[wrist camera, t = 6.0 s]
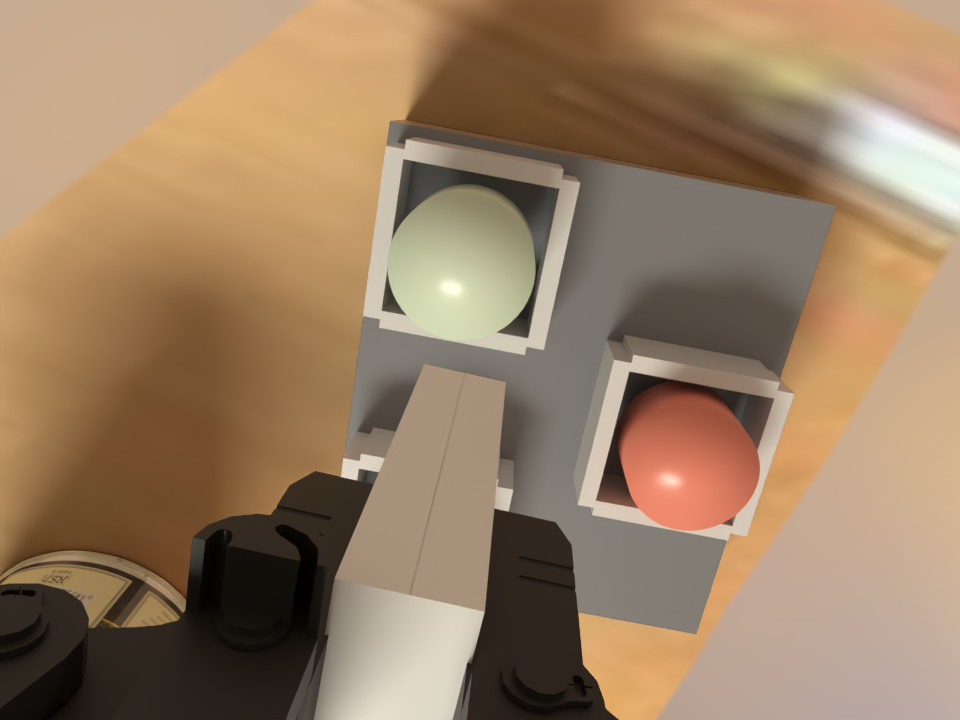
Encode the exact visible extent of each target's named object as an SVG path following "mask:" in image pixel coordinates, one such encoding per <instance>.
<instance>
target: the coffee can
mask: <svg viewBox="0 0 960 720" xmlns="http://www.w3.org/2000/svg"><path fill="white" fill-rule="evenodd" d="M8 583H39V584H43V585H47V586H51V587H55V588H59V589H63V590H66V591H67V592H68V593H70V594H71V595H73V596H74V597H76V598H77V599H79V600H80V601H81V602H82V603H83V605H84V608H85V610H86V612H87V615H88V617H89V628H116V627H143V626H154V625H161V624H165V623H169V622H173V621H177V620H178V619H179V618H180V617H181V615H182V614H183V612H184V611H185V608H186V599H185V598H184V597H183V596H182V595H181V593H179V592H178V591H177V590H176V589H174V588H173V587H172V585H170V584H169V583H168V582H167V581H165V580H164V579H162V578H161V577H159V576H157V575H156V574H154V573H153V572H151V571H150V570H148V569H146V568H144V567H142V566H140V565H138V564H135V563H133V562H131V561H128V560H126V559H123V558H121V557H117V556H112V555H107V554H102V553H97V552H91V551H58V552H52V553H47V554H43V555H39V556H36V557H33V558H30V559H26V560H24V561H22V562H20V563H19V564H17V565H16V566H14V567H13V568H11V569H9V570H8V571H6V572H5V573H4V574H3V575H2V576H0V585H4V584H8Z"/></svg>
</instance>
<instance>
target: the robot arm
mask: <svg viewBox="0 0 960 720" xmlns="http://www.w3.org/2000/svg"><path fill="white" fill-rule="evenodd" d="M505 386H506V382H503V381H499V380H494V379H490V378H485V377H481V376H476V375H472V374H467V373H463V372H458V371H454V370H449V369H445V368H440V367H436V366H431V365H427V364H424V366H423V368H422V371H421V373H420V376H419V378H418V380H417V383H416V385H415V387H414V390H413V392H412V395H411V397H410V399H409V402H408V404H407V407H406V409H405V411H404V414H403V416H402V419H401V421H400V423H399V426H398V428H397V430H396V433H395V435H394V438H393V440H392V442H391V445H390V447H389V450H388V452H387V454H386V457H385V459H384V462H383V464H382V466H381V469H380V471H379V473H378V476H377V478H376V481H375V483H374V484H370V483H366V482H361V481H357V480H352V479H348V478H343V477H339V476H334V475H330V474H325V473H321V472H316V471H315V472H313V473H311V474H309V475H308V476H306V477H304V478H302V479H300V480H298V481H297V482H295V483H293V484H291V485H290V486H289V488H288V489H287V491H286V492H285V494H284V495H283V497H282V499H281V500H280V502H279V503H278V505H277V508H276V509H275V510H274V511H273V513H272V514H271V515H262V514H252V515H242V516H232V517H229V518H226V519H223V520H220V521H218V522H215V523H212V524H209V525H208V526H206V527H205V528H204V529H203V530H201V531H200V532H199V533H198V534H196V535H195V536H194V537H193V540H192V550H191V559H190V569H189V579H188V588H187V598H186V608H185V611H184V612H183V614H182V615H181V617H180V618H179V619H178V620H177V621H173V622H169V623H165V624H161V625H154V626H143V627H116V628H89V617H88V615H87V612H86V610H85V608H84V605H83V603H82V602H81V601H80V600H79V599H77V598H76V597H74V596H73V595H71V594H70V593H68V592H67V591H66V590H63V589H59V588H55V587H51V586H47V585H43V584H39V583H8V584H4V585H0V720H618V719H617V718H616V717H615V716H613V715H612V714H611V713H610V712H609V711H607V709H606V708H605V704H604V699H603V696H602V694H601V691H600V688H599V685H598V683H597V681H596V680H595V678H594V677H593V676H592V675H591V674H590V673H589V671H588V670H587V669H586V668H585V667H584V665H583V660H582V649H581V639H580V628H579V617H578V607H577V596H576V592H575V588H576V585H575V575H574V572H573V570H574V564H573V553H572V545H571V543H570V542H569V540H568V539H567V537H566V536H565V535H564V533H563V532H562V530H561V529H560V527H559V526H558V525H557V523H556V522H553V521H549V520H544V519H540V518H535V517H531V516H526V515H522V514H517V513H513V512H508V511H504V510H499V509H495V508H494V506H495V495H496V484H497V473H498V462H499V451H500V440H501V430H502V419H503V408H504V397H505Z"/></svg>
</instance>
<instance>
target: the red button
mask: <svg viewBox="0 0 960 720" xmlns="http://www.w3.org/2000/svg"><path fill="white" fill-rule="evenodd" d="M616 444H617V449H618V453H619V457H620V460H621V464H622V467H623V471H624V474H625V478H626V481H627V485H628V488H629V492H630V494H631V496H632V499H633V500H634V502H635V504H636V505H637V507H638V508H639V509H640V510H641V511H642V512H643V513H644V514H645V515H646V516H647V517H648V518H650V519H651V520H653V521H654V522H656V523H658V524H660V525H662V526H665V527H668V528H672V529H676V530H683V531H695V530H703V529H707V528H711V527H714V526H717V525H719V524H722V523H724V522H726V521H727V520H729V519H731V518H732V517H734V516H735V515H736V514H737V513H739V512H740V511H741V510H742V509H743V508H744V507H745V506H746V504H747V503H748V502H749V500H750V499H751V497H752V495H753V494H754V492H755V489H756V487H757V484H758V480H759V474H760V461H759V456H758V452H757V450H756V447H755V445H754V443H753V441H752V440H751V438H750V437H749V435H748V434H747V432H746V431H745V430H744V428H743V427H742V425H741V424H740V422H739V421H738V420H737V418H736V417H735V415H734V414H733V412H732V411H731V410H730V408H729V407H728V405H727V404H726V403H725V401H724V400H723V399H722V398H721V397H720V396H719V395H718V394H717V393H715V392H714V391H713V390H711V389H709V388H707V387H706V386H703V385H699V384H694V383H689V382H683V381H670V382H664V383H660V384H657V385H655V386H652V387H650V388H648V389H646V390H644V391H643V392H641V393H640V394H639V395H637V396H636V397H635V398H634V399H633V400H632V401H631V402H630V403H629V404H628V405H627V407H626V408H625V410H624V411H623V413H622V415H621V417H620V420H619V423H618V426H617V432H616Z"/></svg>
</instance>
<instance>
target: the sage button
mask: <svg viewBox="0 0 960 720" xmlns="http://www.w3.org/2000/svg"><path fill="white" fill-rule="evenodd" d="M387 266H388V277H389V283H390V286H391V289H392V292H393V295H394V297H395V299H396V301H397V303H398V304H399V306H400V307H401V309H402V310H403V311H404V313H405V314H406V315H407V316H408V317H409V318H410V319H411V320H412V321H413V322H414V323H415V324H417V325H418V326H420V327H421V328H422V329H424V330H426V331H428V332H430V333H432V334H434V335H437V336H439V337H443V338H447V339H453V340H473V339H479V338H483V337H486V336H489V335H491V334H494V333H496V332H498V331H499V330H501V329H503V328H504V327H506V326H507V325H508V324H510V323H511V322H512V321H513V320H514V319H515V318H516V317H517V316H518V315H519V313H520V312H521V311H522V310H523V308H524V306H525V305H526V303H527V301H528V299H529V297H530V294H531V292H532V289H533V285H534V280H535V254H534V244H533V237H532V233H531V229H530V227H529V225H528V222H527V220H526V218H525V217H524V215H523V213H522V212H521V211H520V209H519V208H518V207H517V206H516V205H515V204H514V203H513V202H512V201H511V200H510V199H509V198H507V197H506V196H505V195H503V194H502V193H500V192H498V191H496V190H494V189H491V188H489V187H485V186H482V185H476V184H459V185H453V186H449V187H446V188H443V189H441V190H439V191H437V192H435V193H433V194H432V195H430V196H429V197H428V198H426V199H425V200H424V201H423V202H422V203H421V204H420V205H418V206H417V207H416V208H415V209H414V210H413V211H412V212H411V213H410V214H409V215H408V216H407V217H406V218H405V219H404V220H403V222H402V223H401V225H400V226H399V227H398V229H397V231H396V233H395V235H394V237H393V239H392V242H391V245H390V249H389V254H388V264H387Z"/></svg>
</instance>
